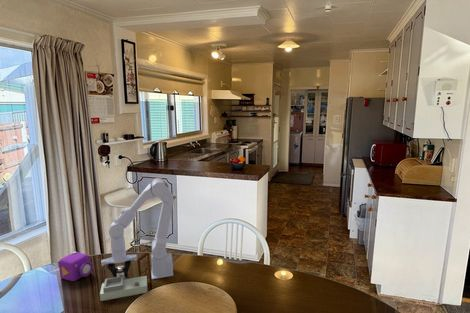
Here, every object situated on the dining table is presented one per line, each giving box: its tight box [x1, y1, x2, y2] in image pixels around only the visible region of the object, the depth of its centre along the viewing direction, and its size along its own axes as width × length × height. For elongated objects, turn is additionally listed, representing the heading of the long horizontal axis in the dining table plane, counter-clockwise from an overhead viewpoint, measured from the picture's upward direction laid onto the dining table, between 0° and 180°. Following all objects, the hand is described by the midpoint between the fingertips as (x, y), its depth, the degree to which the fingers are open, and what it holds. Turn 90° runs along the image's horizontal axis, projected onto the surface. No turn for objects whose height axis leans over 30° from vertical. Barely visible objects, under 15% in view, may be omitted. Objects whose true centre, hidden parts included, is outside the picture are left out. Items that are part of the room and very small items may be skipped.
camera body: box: [99, 275, 148, 302], centre depth 127 cm, size 18×8×5 cm, turn 107°
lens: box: [115, 265, 127, 279], centre depth 135 cm, size 4×4×6 cm
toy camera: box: [58, 251, 93, 282], centre depth 139 cm, size 11×14×10 cm
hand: (121, 277), depth 135 cm, fingers closed on lens, 4 cm apart
